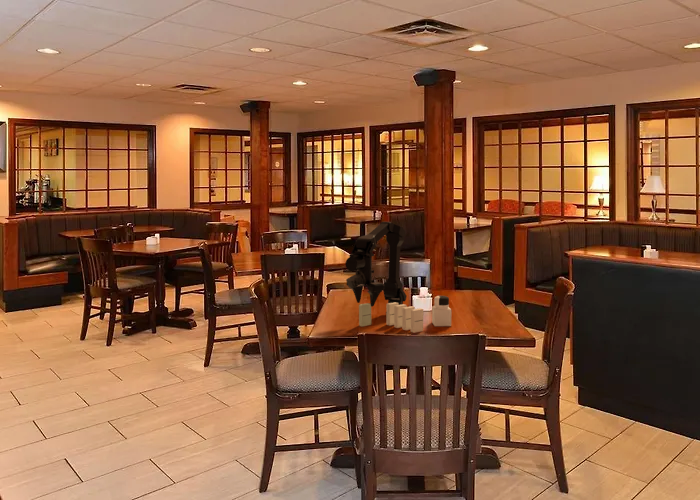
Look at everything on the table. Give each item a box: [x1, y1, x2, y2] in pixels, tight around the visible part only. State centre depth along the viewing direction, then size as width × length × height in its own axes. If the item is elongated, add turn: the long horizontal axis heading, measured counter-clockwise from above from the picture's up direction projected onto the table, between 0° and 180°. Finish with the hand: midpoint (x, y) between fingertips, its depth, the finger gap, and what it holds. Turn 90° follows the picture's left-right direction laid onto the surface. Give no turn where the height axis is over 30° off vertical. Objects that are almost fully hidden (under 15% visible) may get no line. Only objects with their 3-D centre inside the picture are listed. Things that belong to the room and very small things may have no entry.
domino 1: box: [385, 302, 399, 326], centre depth 263 cm, size 2×5×9 cm, turn 127°
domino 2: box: [393, 303, 408, 329], centre depth 259 cm, size 2×5×9 cm, turn 127°
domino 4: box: [410, 307, 424, 334], centre depth 251 cm, size 2×5×9 cm, turn 127°
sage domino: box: [358, 302, 372, 327], centre depth 262 cm, size 2×5×9 cm, turn 127°
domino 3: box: [401, 305, 416, 331], centre depth 255 cm, size 2×5×9 cm, turn 127°
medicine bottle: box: [431, 295, 452, 327], centre depth 262 cm, size 7×7×12 cm
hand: (365, 304), depth 261 cm, fingers open, 9 cm apart
